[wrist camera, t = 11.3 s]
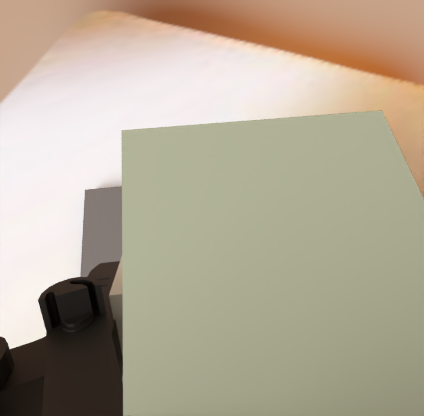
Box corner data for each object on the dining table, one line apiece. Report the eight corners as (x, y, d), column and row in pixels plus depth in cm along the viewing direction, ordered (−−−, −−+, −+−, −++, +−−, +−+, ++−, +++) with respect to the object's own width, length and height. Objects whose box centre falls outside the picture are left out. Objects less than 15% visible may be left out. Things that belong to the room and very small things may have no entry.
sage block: (280, 259, 18) (381, 110, 8) (309, 386, 15) (521, 406, 5) (166, 272, 17) (121, 130, 7) (175, 406, 14) (123, 471, 5)
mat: (322, 173, 23) (326, 167, 22) (440, 533, 15) (453, 541, 14) (88, 196, 22) (85, 189, 21) (70, 605, 13) (62, 618, 13)
